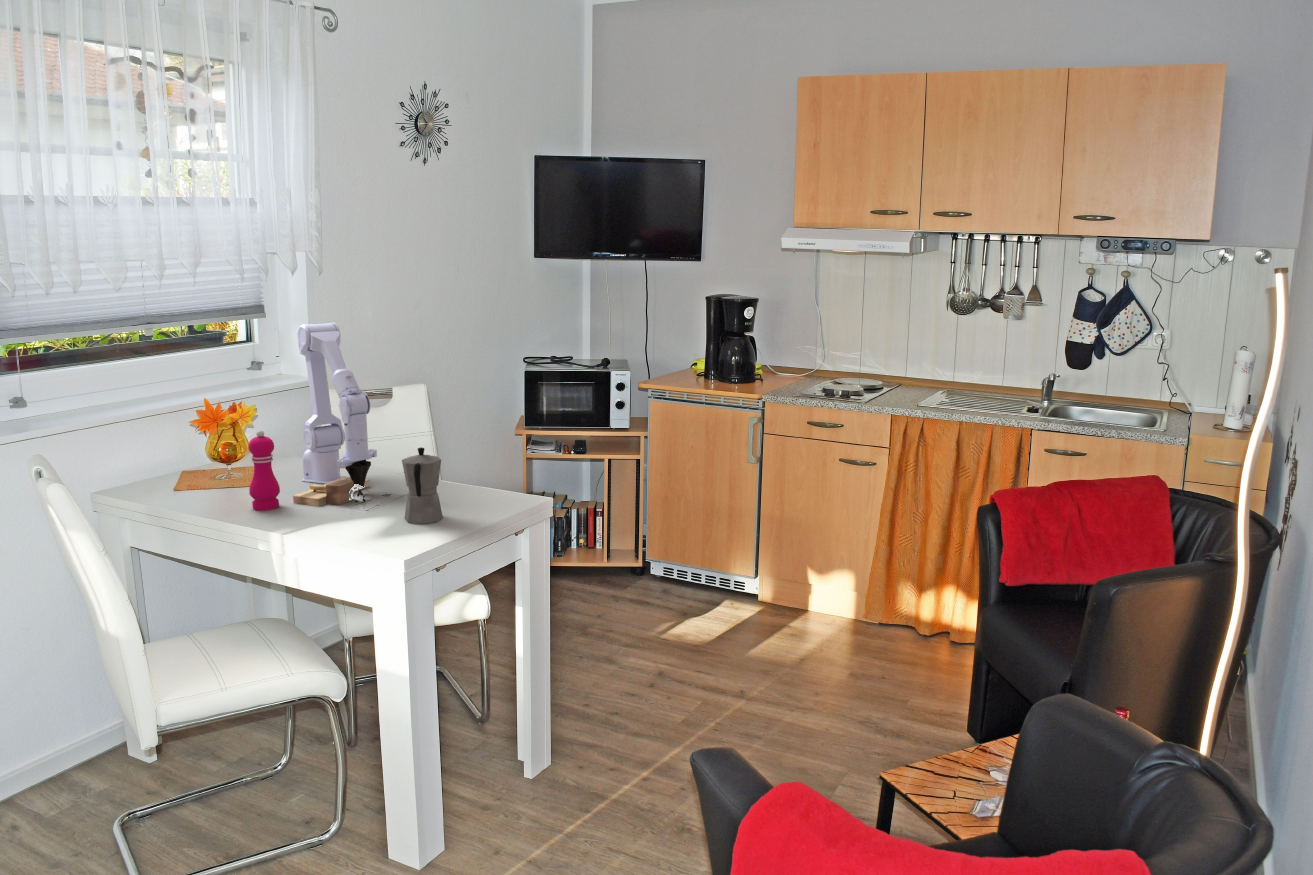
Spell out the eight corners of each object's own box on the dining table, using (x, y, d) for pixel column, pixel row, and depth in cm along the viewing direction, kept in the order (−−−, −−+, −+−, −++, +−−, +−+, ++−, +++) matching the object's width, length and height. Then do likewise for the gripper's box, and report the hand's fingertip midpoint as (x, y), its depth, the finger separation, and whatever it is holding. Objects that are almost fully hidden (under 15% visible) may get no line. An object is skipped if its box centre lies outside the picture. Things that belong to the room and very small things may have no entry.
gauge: (304, 500, 254) (303, 482, 253) (319, 495, 260) (318, 476, 259) (340, 505, 251) (338, 486, 250) (354, 499, 256) (353, 480, 255)
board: (293, 503, 252) (292, 495, 252) (344, 483, 272) (344, 476, 271) (319, 506, 250) (318, 498, 249) (369, 486, 269) (368, 479, 269)
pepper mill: (270, 512, 244) (264, 433, 240) (244, 510, 246) (238, 432, 242) (286, 504, 251) (281, 428, 247) (261, 502, 253) (255, 426, 249)
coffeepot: (408, 511, 246) (405, 441, 242) (446, 511, 247) (443, 441, 243) (398, 530, 231) (395, 456, 227) (439, 529, 232) (436, 455, 228)
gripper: (352, 445, 250) (354, 497, 253) (385, 434, 264) (387, 483, 267) (329, 443, 253) (331, 494, 255) (363, 432, 266) (365, 480, 269)
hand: (358, 488), depth 261 cm, fingers closed
